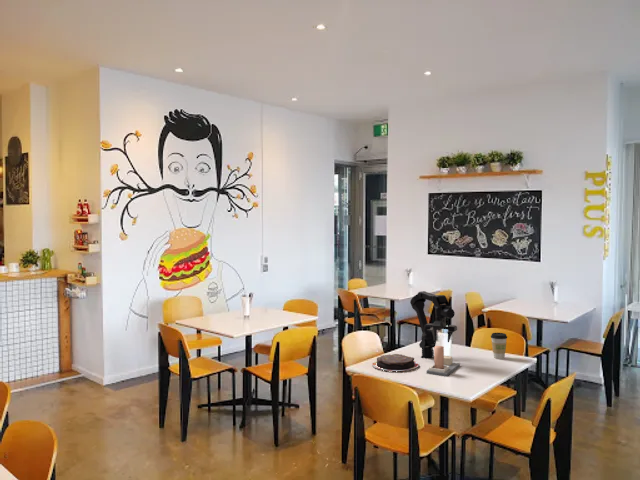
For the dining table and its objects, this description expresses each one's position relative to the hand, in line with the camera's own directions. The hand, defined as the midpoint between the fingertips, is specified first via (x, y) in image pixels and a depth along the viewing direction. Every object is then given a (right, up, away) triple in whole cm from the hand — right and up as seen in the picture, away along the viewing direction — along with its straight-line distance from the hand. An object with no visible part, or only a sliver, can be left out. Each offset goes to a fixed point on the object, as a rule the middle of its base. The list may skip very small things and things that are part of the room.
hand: (441, 341), depth 318 cm
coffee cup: (+38, -12, +8) cm, 41 cm away
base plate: (-2, -14, -14) cm, 20 cm away
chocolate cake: (-28, -15, -3) cm, 32 cm away
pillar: (-5, -12, -19) cm, 23 cm away
